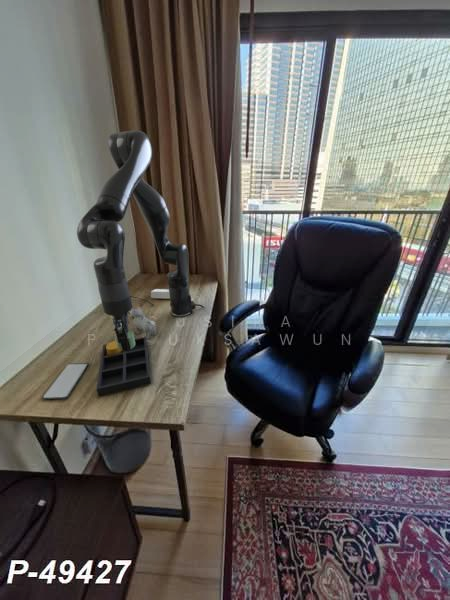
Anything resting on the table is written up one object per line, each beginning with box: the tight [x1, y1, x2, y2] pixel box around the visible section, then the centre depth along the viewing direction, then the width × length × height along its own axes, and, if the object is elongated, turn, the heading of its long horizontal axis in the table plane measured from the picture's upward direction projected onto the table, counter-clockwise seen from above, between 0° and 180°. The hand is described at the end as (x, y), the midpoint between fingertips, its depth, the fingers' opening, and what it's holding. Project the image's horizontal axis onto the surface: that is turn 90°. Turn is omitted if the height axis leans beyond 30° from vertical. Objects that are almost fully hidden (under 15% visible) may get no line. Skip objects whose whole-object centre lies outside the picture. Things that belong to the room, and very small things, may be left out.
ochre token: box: [105, 340, 123, 356], centre depth 91 cm, size 5×5×4 cm
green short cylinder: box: [115, 329, 136, 351], centre depth 76 cm, size 5×5×4 cm
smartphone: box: [42, 362, 89, 400], centre depth 81 cm, size 7×1×15 cm
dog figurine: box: [129, 306, 157, 340], centre depth 103 cm, size 5×13×11 cm, turn 52°
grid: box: [96, 336, 152, 397], centre depth 87 cm, size 15×23×3 cm
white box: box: [150, 288, 170, 300], centre depth 134 cm, size 13×7×8 cm, turn 85°
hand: (126, 344), depth 77 cm, fingers closed on green short cylinder, 5 cm apart
